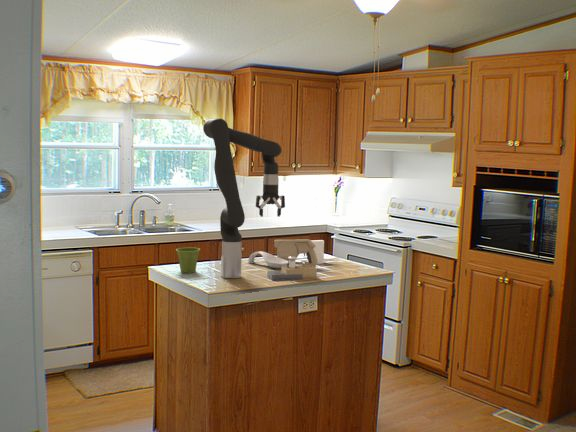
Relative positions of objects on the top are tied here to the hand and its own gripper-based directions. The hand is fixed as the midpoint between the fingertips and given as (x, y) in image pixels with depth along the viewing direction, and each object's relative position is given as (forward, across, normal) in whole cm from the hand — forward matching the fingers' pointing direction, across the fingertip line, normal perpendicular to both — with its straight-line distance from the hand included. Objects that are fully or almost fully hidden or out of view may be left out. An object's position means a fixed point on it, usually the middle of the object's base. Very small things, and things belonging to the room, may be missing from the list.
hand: (270, 216), depth 294 cm
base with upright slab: (+28, +32, +23) cm, 49 cm away
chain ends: (+28, +8, -13) cm, 32 cm away
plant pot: (+28, -39, +9) cm, 49 cm away
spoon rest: (+29, +4, +17) cm, 34 cm away
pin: (+28, +8, -13) cm, 32 cm away
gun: (+28, +18, +15) cm, 37 cm away
